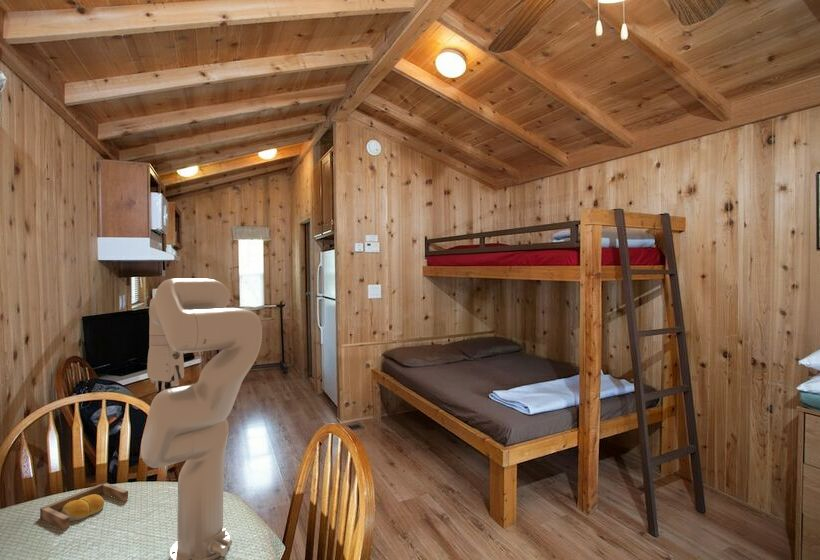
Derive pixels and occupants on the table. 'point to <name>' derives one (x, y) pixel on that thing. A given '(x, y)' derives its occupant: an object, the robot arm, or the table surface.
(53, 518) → the frame
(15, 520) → the table surface
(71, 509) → the bread roll
